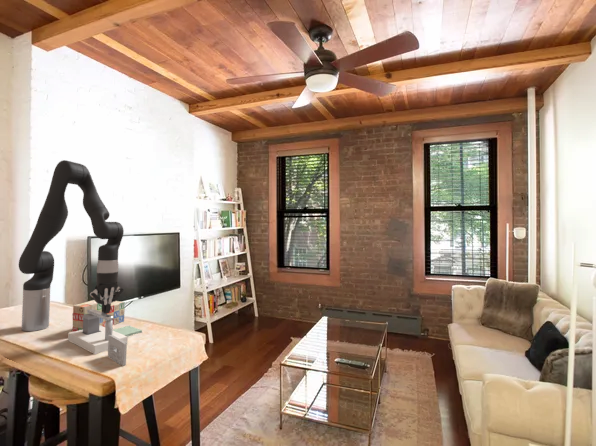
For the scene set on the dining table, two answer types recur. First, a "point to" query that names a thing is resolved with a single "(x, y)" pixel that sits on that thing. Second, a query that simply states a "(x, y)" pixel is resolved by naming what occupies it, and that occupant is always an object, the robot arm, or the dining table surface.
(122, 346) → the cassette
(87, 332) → the plug
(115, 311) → the stack of blocks
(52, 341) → the dining table surface
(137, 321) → the dining table surface
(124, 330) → the mat
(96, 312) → the clip
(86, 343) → the socket block
